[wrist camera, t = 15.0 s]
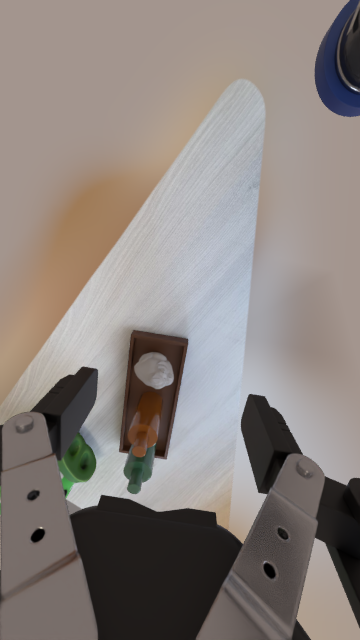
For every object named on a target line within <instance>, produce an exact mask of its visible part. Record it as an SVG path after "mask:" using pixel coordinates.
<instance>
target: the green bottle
mask: <svg viewBox="0 0 360 640" xmlns="http://www.w3.org/2000/svg"><path fill="white" fill-rule="evenodd" d="M156 445H157V442H156V443H155V445H153V446H152V447H150V448H147V451H146V454H145V455H144V456H143V457H136V456H134V455H133V453H132V448H133V445H132V444H131V446H130V450H129V453H128V456H127V460H126V463H125V467H124V475H125V476H126V478H127V479H129V483H128V487H127V490H128V491H129V492H130V493H132V494H137V493H139V492H140V490H141V485H142V482H146V481H147V480H149V479H150V477H151V475H152V470H153V464H154V458H155V452H156Z"/></svg>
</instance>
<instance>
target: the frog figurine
mask: <svg viewBox="0 0 360 640" xmlns="http://www.w3.org/2000/svg"><path fill="white" fill-rule="evenodd" d="M134 370H135V373H136V375H137V377H138V378H139V379H140V380H141V381H143V383H144V384H146V385H148V386H151V387H154V388H155V389H161V388H163V387H165V386H167V385H170V384H171V383H172V382H173V379H174V374H173V370H172V366H171V364H170V362H169V361H167V358H166V357H165V356H164V355H162V354H161V353H158V352H150V353H147V354H144V355H142V356H141V358H140V359H139V362H138V363H137V364H136V365H135V366H134Z"/></svg>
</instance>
